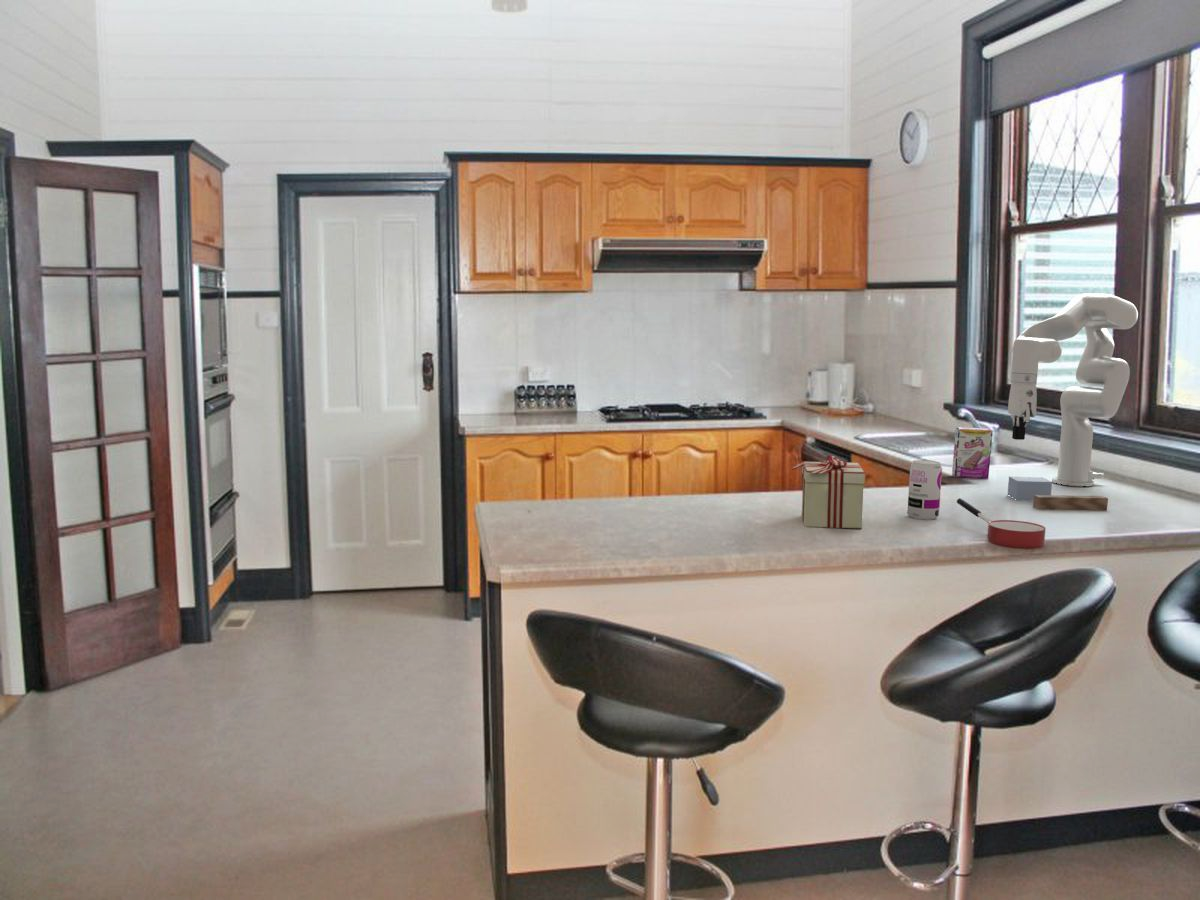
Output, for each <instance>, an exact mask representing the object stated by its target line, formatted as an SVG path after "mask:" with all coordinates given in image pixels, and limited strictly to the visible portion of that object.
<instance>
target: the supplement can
mask: <svg viewBox="0 0 1200 900" xmlns="http://www.w3.org/2000/svg"><path fill="white" fill-rule="evenodd" d="M909 468H910V469H909V479H908V480H909V483H908V497H907V498H908V499H907V513H906V514H907V515H908V517H910V518H911V519H916V520H923V521H928V520H930V521H931V520H936V519H937V518H938V517H939V516H940V503H941V487H942V477H943V476H942V475H943V467H942V466H941V462H939V461H935V460H927V459H926V460H925V459H924V460H923V459H921V460H919V459H917V460H913V461H912V463H911V464H910V466H909Z"/></svg>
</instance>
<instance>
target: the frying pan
mask: <svg viewBox="0 0 1200 900" xmlns="http://www.w3.org/2000/svg"><path fill="white" fill-rule="evenodd" d="M956 502H957V503H956V504H958V505H959V506H960V507H963V509H965V510H967V511H968V512H969V513H970V514H973V515H974V516H975V517H977V518H980V519H981V520H983V521H984V522H986V523H987V524H988V526H987V537H986V538H987V539H986V540H987V541H988V542H989V543H990V544H993V545H996V546H1001V547H1006V548H1011V549H1038V548H1042V547H1044V546H1045V541H1046V527H1045V526H1044V525H1041V524H1038V523H1034V522H1031V521H1030V522H1029V521H1022V520H1012V519H1011V520H1010V519H1009V520H1008V519H1006V520H1005V519H1003V520H1002V519H999V520H997V519H996V520H992V519H990V518H989V517H988V516H986V515H985V514H983V513H982V511H980V510H979V509H977V508H976V507H974V506H973V505H972V504H969V503H968V502H967V501H965V500H964V499H962V498H961V497H959V498H957V500H956Z"/></svg>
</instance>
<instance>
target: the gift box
mask: <svg viewBox="0 0 1200 900" xmlns="http://www.w3.org/2000/svg"><path fill="white" fill-rule="evenodd" d="M827 459H828V460H824V461H802V462H801V463H798V464H796V465H795V466H793V467H791V468H790V470H792V471H793V470H797V469H798V468H800V467H801V473H802V495H801V496H802V497H801V499H802V500H801V520H802V522H803V526H804V527H805V528H827V529H856V530H857V529H862V528H863V506H864V505H863V503H864V485H865V484H866V483H865V482H866V472H865V470H864V469H863V468H862V467H861V465H860V464H859V462H846V461H842V460H841V459H839V458H837V457H836V456H834V455H831V454H827Z"/></svg>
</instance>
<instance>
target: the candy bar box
mask: <svg viewBox="0 0 1200 900" xmlns="http://www.w3.org/2000/svg"><path fill="white" fill-rule="evenodd" d="M954 433H955V435H954V443H953V445H954V446H953V457H952V458H953V459H952V469H951V475H952V476H953V477H954V478H959V479H963V478H965V479H982V480H985V479H986V480H988V479H989V475H990V462H991V451H992V442H993V429H990V428H984V427H983V428H980V427H960V426H958V427H957V426H956V427H955V432H954Z"/></svg>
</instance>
